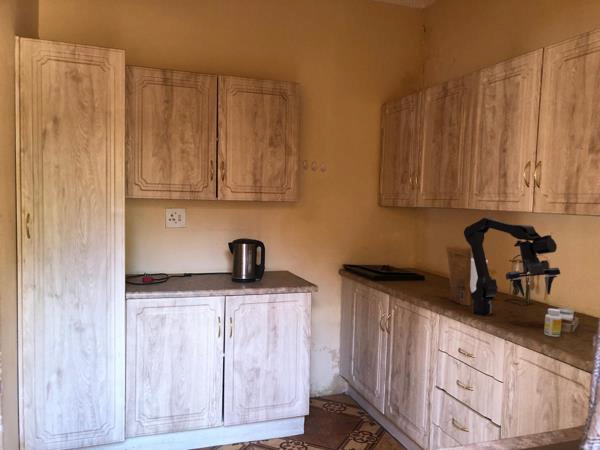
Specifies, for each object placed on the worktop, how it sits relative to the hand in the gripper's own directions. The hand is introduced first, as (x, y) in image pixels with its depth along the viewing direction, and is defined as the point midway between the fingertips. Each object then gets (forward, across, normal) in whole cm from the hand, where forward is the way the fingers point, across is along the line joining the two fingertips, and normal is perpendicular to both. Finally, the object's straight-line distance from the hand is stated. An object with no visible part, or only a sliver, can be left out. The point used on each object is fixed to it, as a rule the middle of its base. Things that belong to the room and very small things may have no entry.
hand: (536, 295), depth 178 cm
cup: (-3, -10, +74) cm, 75 cm away
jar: (+13, +12, +11) cm, 20 cm away
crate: (+14, +10, +8) cm, 18 cm away
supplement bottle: (+15, +2, -5) cm, 16 cm away
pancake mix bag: (+1, -24, +42) cm, 49 cm away
